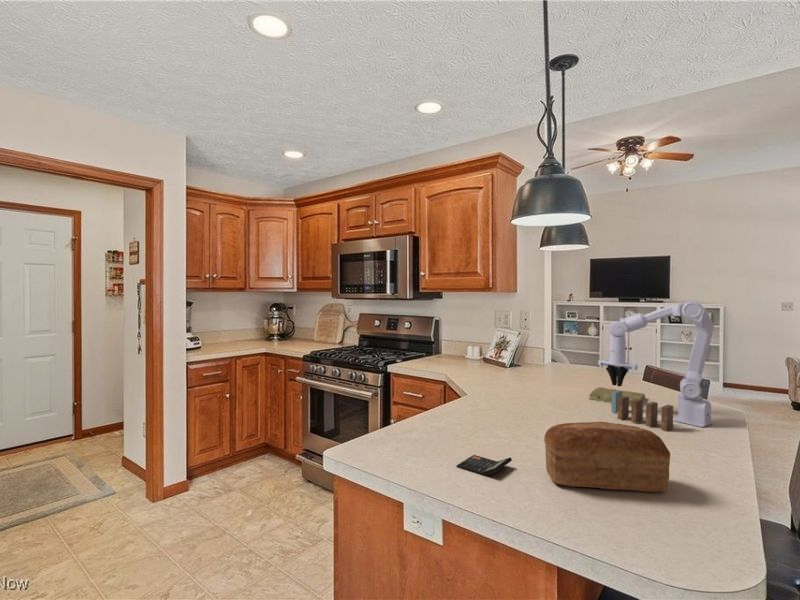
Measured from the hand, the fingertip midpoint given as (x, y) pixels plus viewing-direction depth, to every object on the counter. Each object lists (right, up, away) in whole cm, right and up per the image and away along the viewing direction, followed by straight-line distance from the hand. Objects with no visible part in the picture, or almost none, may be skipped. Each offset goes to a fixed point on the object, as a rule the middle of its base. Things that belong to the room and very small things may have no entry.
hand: (617, 385), depth 164 cm
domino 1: (0, -10, 0) cm, 10 cm away
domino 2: (-2, -11, -9) cm, 14 cm away
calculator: (-63, -12, -52) cm, 83 cm away
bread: (-35, -12, -61) cm, 72 cm away
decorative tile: (+10, -11, +19) cm, 24 cm away
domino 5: (+6, -11, -21) cm, 24 cm away
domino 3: (+1, -11, -13) cm, 17 cm away
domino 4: (+3, -11, -17) cm, 20 cm away
